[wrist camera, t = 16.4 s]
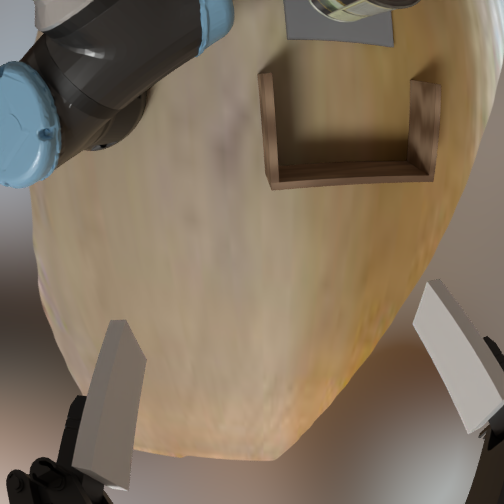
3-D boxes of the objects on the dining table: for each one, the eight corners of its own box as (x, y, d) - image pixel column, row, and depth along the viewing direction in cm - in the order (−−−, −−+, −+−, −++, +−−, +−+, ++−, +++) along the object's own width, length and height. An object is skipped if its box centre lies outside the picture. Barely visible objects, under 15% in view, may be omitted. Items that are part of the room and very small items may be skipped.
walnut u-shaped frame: (257, 73, 36) (263, 73, 30) (415, 80, 36) (441, 84, 31) (265, 173, 44) (271, 190, 38) (410, 166, 45) (433, 181, 39)
